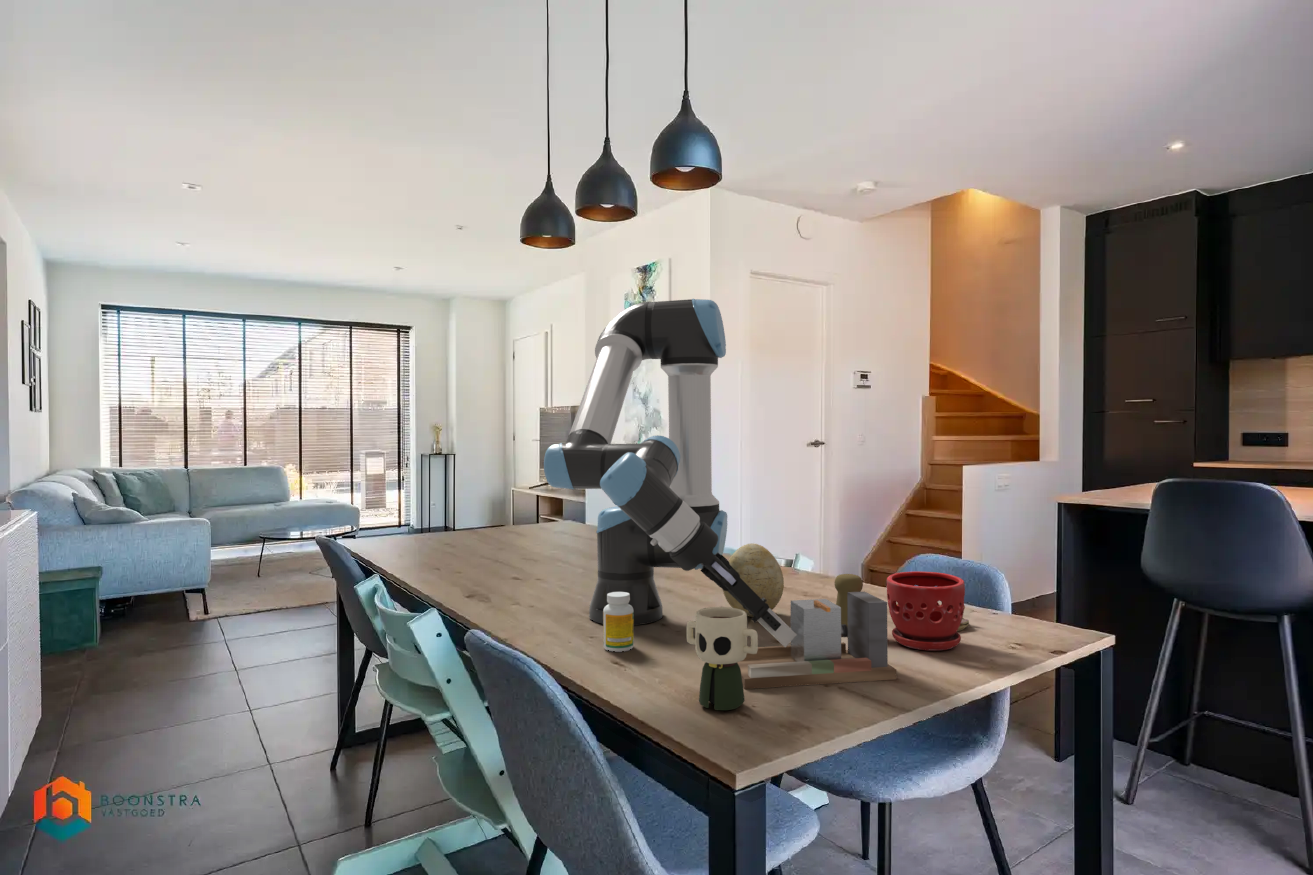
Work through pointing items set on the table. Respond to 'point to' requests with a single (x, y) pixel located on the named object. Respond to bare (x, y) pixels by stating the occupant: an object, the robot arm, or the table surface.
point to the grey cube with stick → (816, 630)
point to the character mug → (721, 654)
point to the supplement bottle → (618, 623)
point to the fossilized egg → (757, 574)
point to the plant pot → (926, 609)
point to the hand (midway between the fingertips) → (789, 639)
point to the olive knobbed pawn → (843, 586)
